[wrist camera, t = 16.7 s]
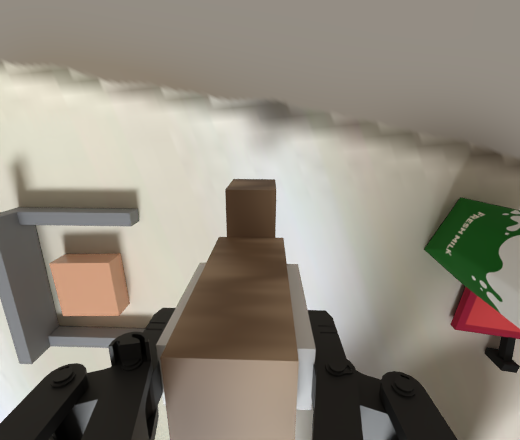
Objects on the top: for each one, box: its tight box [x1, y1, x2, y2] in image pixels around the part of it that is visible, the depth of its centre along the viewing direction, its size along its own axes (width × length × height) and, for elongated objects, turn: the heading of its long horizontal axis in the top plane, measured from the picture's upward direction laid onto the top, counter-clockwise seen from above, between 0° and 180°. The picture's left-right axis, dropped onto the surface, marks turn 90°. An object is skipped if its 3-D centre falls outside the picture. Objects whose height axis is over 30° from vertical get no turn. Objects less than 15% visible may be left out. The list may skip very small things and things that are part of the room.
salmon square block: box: [49, 253, 130, 316], centre depth 35 cm, size 7×7×3 cm
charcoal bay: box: [0, 207, 145, 364], centre depth 34 cm, size 14×18×5 cm
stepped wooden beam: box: [160, 179, 299, 440], centre depth 15 cm, size 4×10×14 cm, turn 0°
